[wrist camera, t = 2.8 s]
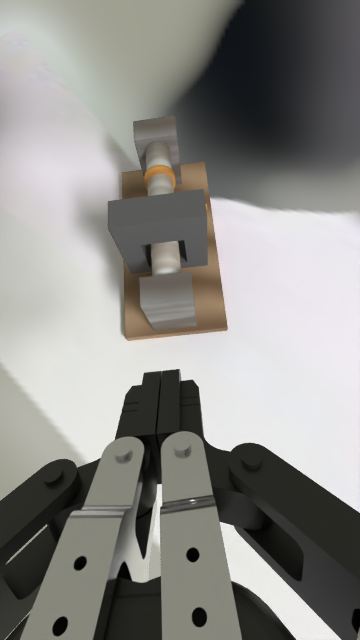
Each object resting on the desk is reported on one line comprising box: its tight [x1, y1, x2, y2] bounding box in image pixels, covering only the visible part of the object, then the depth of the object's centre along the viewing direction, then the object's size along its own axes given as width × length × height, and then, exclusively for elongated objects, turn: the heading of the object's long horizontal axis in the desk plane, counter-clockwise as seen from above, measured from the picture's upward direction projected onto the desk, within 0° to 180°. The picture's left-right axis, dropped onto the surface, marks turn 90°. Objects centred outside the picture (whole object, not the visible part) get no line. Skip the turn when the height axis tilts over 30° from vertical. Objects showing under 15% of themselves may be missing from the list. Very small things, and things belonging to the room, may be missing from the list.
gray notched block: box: [108, 189, 208, 274], centre depth 33 cm, size 3×9×9 cm, turn 94°
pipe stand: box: [122, 116, 228, 341], centre depth 37 cm, size 25×12×9 cm, turn 5°
